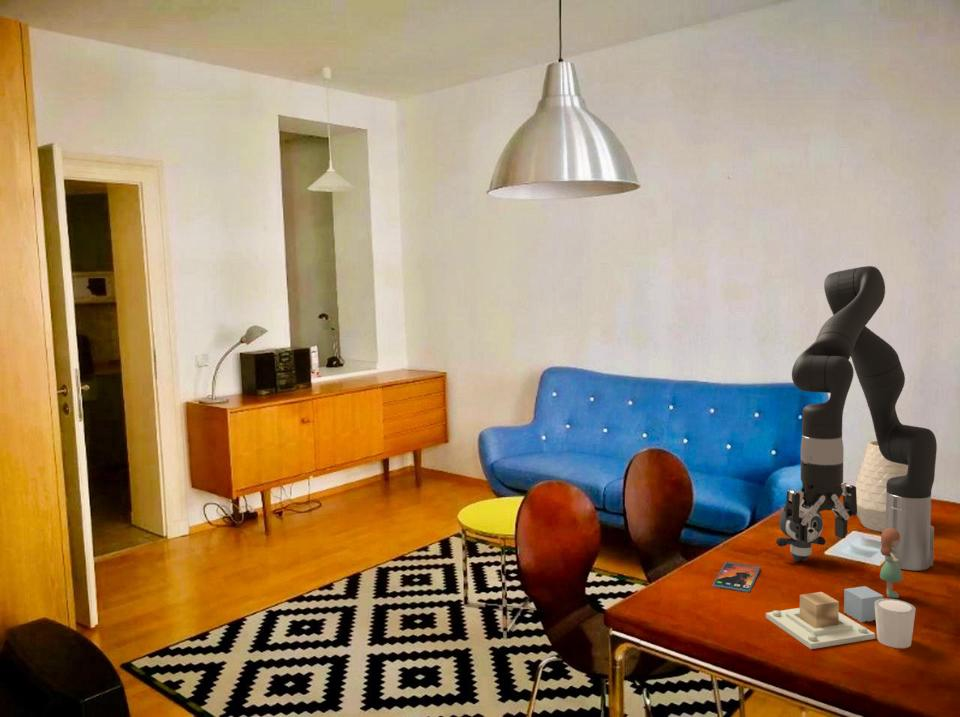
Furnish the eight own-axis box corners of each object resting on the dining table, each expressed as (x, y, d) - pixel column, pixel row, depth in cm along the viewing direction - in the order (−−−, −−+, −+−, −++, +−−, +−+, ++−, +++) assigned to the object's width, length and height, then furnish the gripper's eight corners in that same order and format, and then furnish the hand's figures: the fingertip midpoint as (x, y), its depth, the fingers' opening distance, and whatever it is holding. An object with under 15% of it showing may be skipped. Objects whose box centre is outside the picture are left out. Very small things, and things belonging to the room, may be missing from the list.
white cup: (865, 634, 146) (866, 599, 145) (899, 631, 146) (900, 596, 146) (887, 651, 139) (888, 614, 138) (923, 648, 139) (924, 612, 139)
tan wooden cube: (821, 615, 152) (821, 591, 151) (838, 626, 147) (838, 601, 147) (799, 619, 151) (799, 594, 150) (816, 629, 146) (816, 605, 145)
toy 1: (786, 570, 178) (787, 508, 176) (769, 554, 188) (769, 496, 187) (835, 568, 178) (836, 506, 177) (815, 553, 188) (816, 494, 187)
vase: (855, 513, 218) (856, 434, 216) (925, 522, 208) (927, 440, 206) (843, 530, 204) (844, 446, 202) (917, 541, 194) (919, 453, 192)
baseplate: (825, 608, 157) (825, 600, 157) (874, 638, 144) (875, 629, 144) (765, 617, 154) (765, 609, 154) (810, 649, 141) (810, 639, 140)
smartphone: (711, 585, 170) (725, 561, 183) (711, 590, 170) (725, 566, 183) (749, 589, 166) (761, 565, 179) (750, 595, 166) (761, 570, 179)
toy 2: (909, 610, 155) (911, 539, 154) (886, 608, 156) (887, 538, 155) (894, 585, 168) (896, 519, 166) (873, 583, 169) (874, 518, 168)
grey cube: (864, 609, 157) (865, 586, 156) (882, 619, 152) (883, 595, 151) (844, 612, 155) (844, 589, 155) (861, 622, 151) (861, 598, 150)
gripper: (840, 451, 151) (839, 529, 153) (777, 457, 148) (777, 538, 149) (867, 459, 144) (866, 542, 145) (802, 466, 140) (801, 550, 142)
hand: (821, 539), depth 147 cm, fingers open, 8 cm apart
